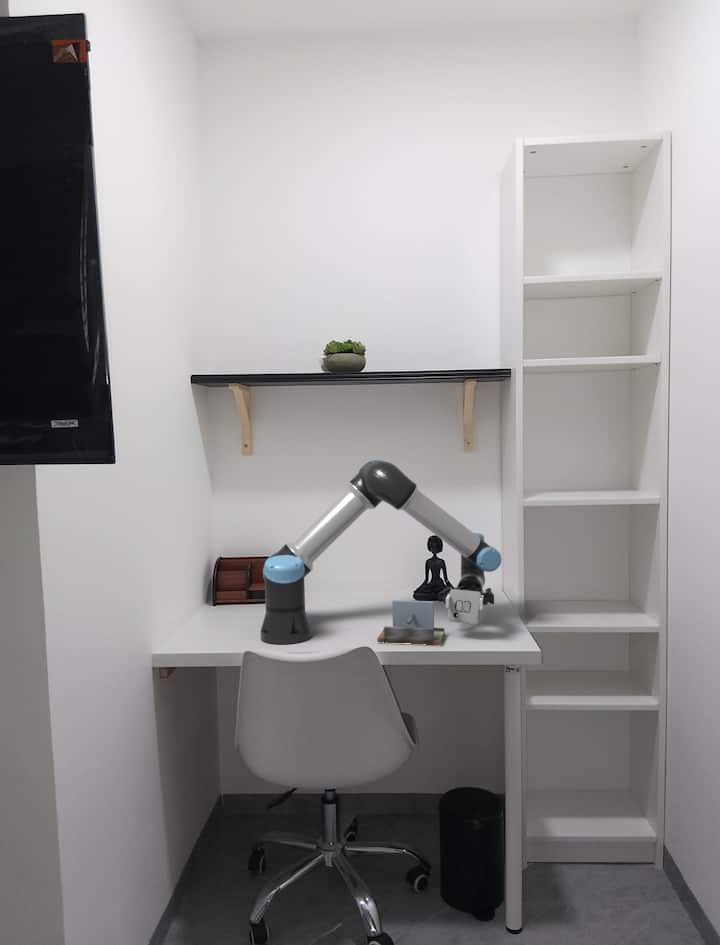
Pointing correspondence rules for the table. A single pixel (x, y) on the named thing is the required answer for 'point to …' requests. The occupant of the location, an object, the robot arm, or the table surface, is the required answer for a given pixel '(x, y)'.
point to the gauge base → (411, 635)
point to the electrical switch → (464, 606)
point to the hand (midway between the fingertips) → (463, 604)
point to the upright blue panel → (414, 614)
